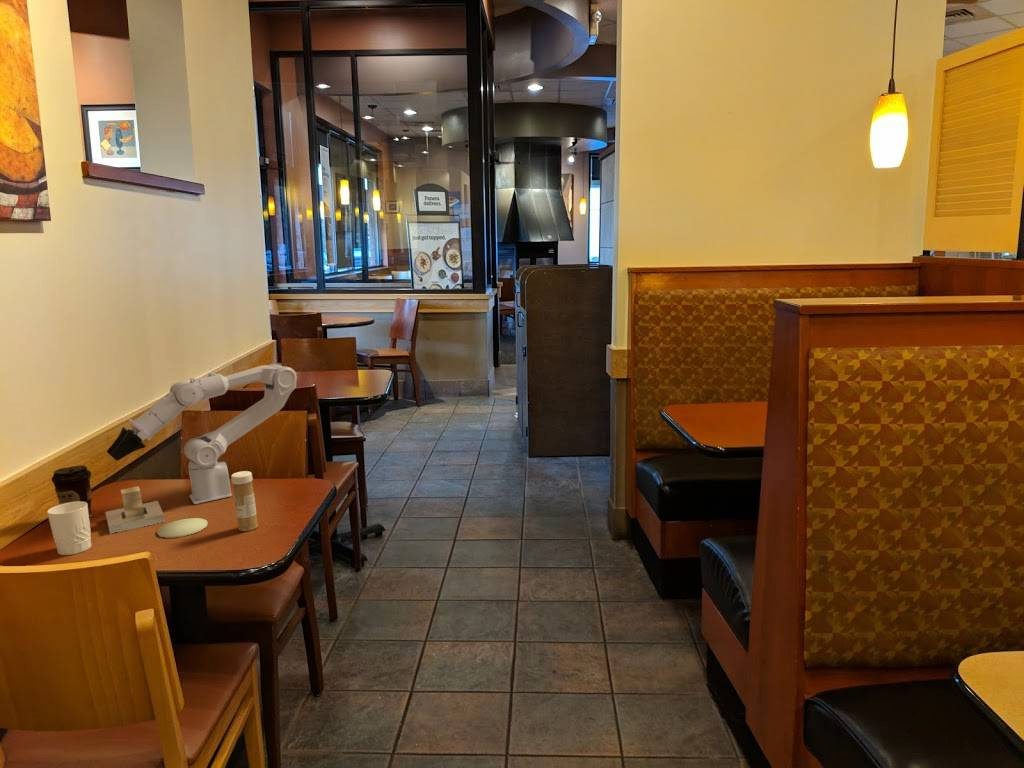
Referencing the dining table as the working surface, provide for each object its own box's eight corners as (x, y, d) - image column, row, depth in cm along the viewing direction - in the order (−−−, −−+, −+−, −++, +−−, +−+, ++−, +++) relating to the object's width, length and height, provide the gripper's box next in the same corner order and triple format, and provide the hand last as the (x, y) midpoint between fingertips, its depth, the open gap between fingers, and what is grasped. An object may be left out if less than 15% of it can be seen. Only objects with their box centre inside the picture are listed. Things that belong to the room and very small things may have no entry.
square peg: (143, 516, 191) (138, 486, 189) (145, 521, 187) (140, 490, 186) (125, 520, 189) (120, 489, 187) (127, 525, 185) (121, 494, 184)
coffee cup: (79, 525, 187) (70, 474, 185) (51, 524, 189) (41, 474, 186) (105, 512, 196) (96, 463, 193) (77, 511, 197) (68, 463, 195)
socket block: (158, 508, 196) (157, 500, 196) (164, 521, 186) (163, 514, 186) (106, 519, 190) (105, 511, 190) (110, 534, 180) (108, 526, 180)
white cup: (65, 543, 176) (57, 502, 174) (100, 540, 176) (93, 499, 174) (48, 558, 168) (39, 515, 166) (85, 555, 169) (77, 512, 167)
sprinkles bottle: (234, 529, 179) (226, 474, 176) (251, 523, 182) (244, 469, 179) (245, 533, 176) (237, 477, 173) (262, 526, 179) (255, 472, 176)
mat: (203, 516, 188) (203, 514, 188) (211, 530, 179) (211, 528, 179) (154, 527, 183) (154, 525, 183) (160, 542, 173) (160, 540, 173)
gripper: (140, 404, 196) (96, 442, 191) (149, 407, 184) (102, 447, 179) (160, 424, 199) (117, 461, 194) (170, 428, 187) (124, 468, 181)
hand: (111, 456), depth 186 cm, fingers open, 7 cm apart
